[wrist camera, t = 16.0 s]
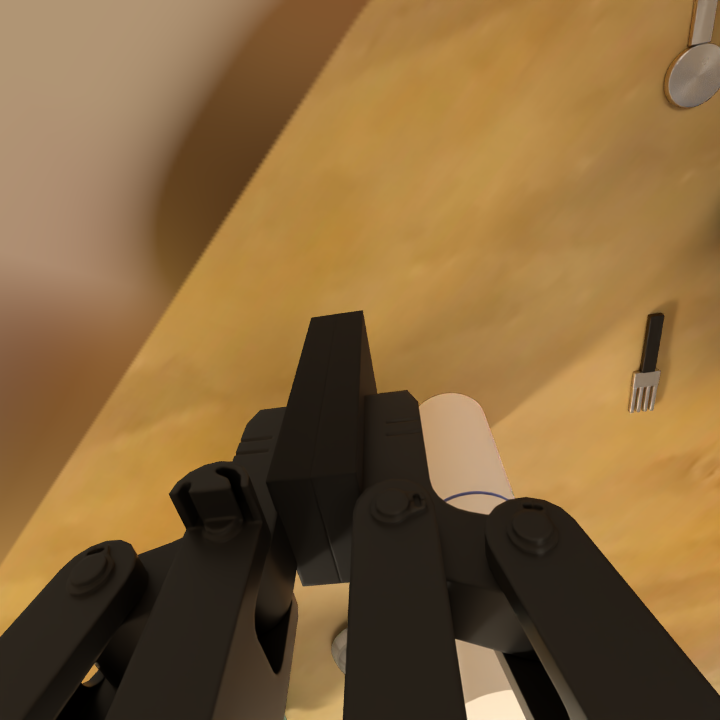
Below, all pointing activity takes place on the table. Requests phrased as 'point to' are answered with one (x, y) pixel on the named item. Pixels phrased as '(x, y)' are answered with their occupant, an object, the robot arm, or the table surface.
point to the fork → (647, 366)
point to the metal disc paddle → (696, 62)
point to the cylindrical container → (480, 495)
